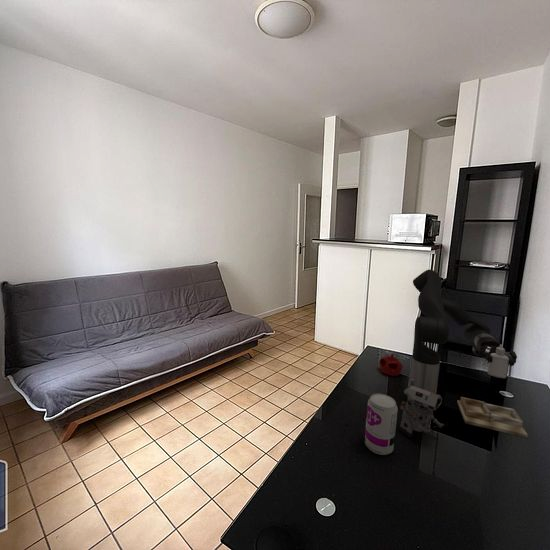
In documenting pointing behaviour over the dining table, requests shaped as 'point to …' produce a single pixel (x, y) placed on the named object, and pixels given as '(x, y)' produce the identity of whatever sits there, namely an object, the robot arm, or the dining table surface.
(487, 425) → the wooden compartment tray
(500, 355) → the eye dropper bottle
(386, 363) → the pomegranate
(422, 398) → the figurine
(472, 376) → the dining table surface
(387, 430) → the supplement can
